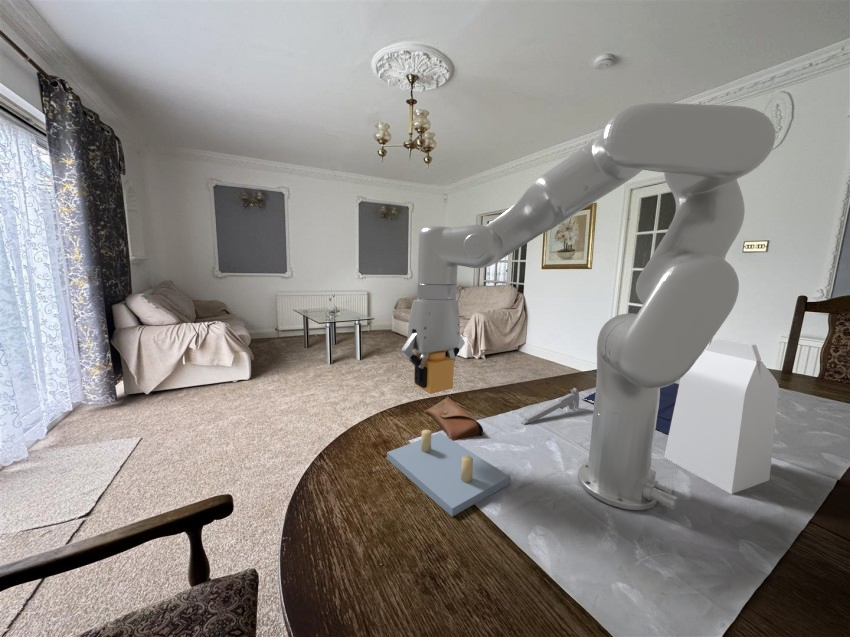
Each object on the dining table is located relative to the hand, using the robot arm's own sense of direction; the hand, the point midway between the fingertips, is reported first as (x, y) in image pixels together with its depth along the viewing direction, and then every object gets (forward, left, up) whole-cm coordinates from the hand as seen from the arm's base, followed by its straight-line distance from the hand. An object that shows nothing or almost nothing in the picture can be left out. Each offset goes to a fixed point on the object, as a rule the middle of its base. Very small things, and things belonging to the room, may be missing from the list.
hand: (433, 381), depth 69 cm
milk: (-37, -43, -16) cm, 59 cm away
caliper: (-4, -38, -17) cm, 41 cm away
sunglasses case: (+9, -13, -17) cm, 23 cm away
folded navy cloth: (-17, -67, -17) cm, 71 cm away
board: (-6, +1, -16) cm, 17 cm away
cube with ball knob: (0, 0, -1) cm, 1 cm away
